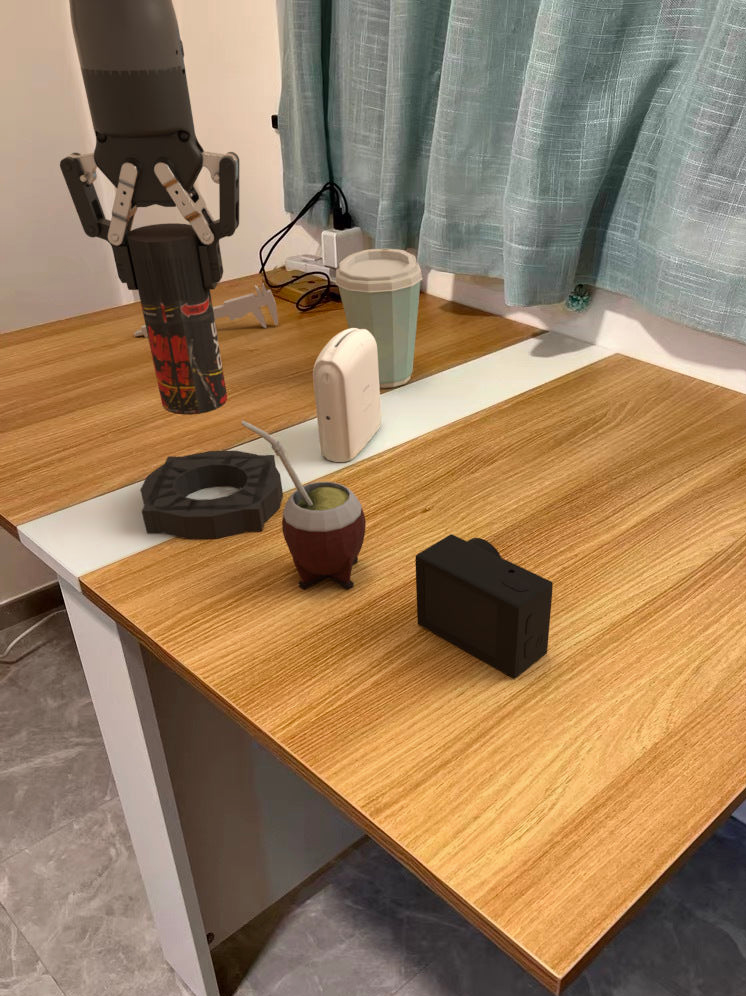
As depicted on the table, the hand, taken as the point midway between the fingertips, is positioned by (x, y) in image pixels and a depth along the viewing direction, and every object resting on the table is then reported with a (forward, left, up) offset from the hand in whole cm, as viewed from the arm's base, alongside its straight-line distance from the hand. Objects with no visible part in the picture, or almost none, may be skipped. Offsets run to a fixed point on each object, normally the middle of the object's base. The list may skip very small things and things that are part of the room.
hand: (174, 286), depth 76 cm
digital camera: (+26, -22, -22) cm, 40 cm away
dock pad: (0, 0, -21) cm, 21 cm away
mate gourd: (+12, -13, -22) cm, 28 cm away
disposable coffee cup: (+16, +31, -22) cm, 41 cm away
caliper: (-10, +49, -22) cm, 55 cm away
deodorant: (0, 0, -11) cm, 11 cm away
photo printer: (+13, +13, -22) cm, 28 cm away
